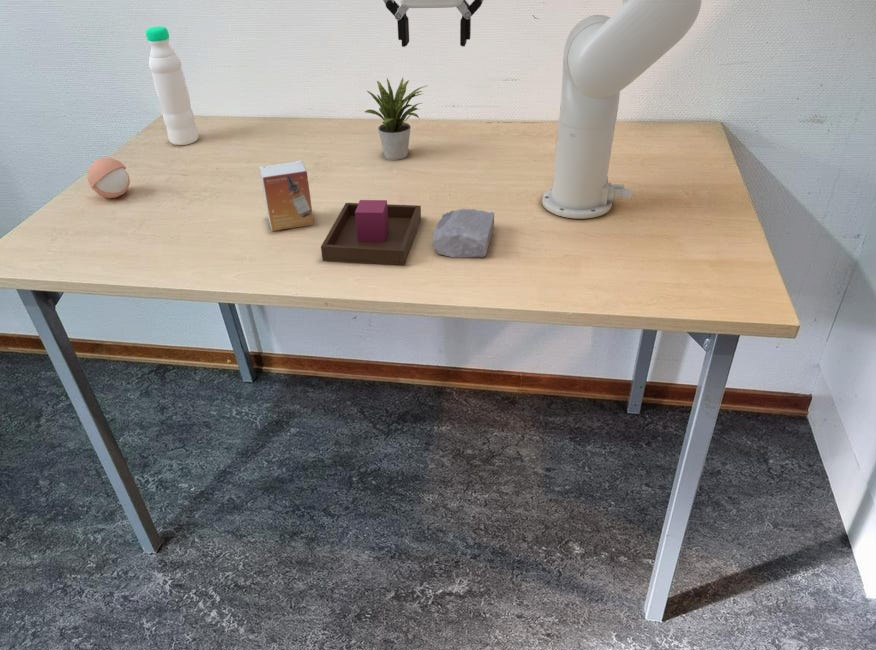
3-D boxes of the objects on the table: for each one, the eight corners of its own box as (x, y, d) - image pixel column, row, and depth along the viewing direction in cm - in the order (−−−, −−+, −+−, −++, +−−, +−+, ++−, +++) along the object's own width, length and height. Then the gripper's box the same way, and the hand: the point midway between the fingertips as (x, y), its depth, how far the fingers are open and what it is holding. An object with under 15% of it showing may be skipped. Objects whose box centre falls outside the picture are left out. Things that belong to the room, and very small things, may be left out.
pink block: (388, 229, 118) (386, 200, 115) (385, 242, 114) (382, 212, 111) (362, 228, 119) (359, 199, 115) (357, 241, 115) (354, 212, 111)
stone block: (432, 265, 112) (491, 258, 109) (426, 239, 109) (486, 232, 106) (444, 234, 121) (498, 227, 118) (438, 210, 118) (493, 202, 115)
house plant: (424, 171, 139) (422, 90, 129) (360, 170, 141) (352, 90, 131) (432, 145, 150) (431, 69, 139) (372, 145, 152) (367, 70, 142)
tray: (421, 219, 122) (420, 205, 120) (404, 265, 109) (403, 250, 107) (347, 216, 124) (345, 202, 122) (322, 261, 112) (320, 246, 110)
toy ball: (111, 207, 133) (97, 169, 128) (87, 199, 136) (73, 162, 131) (142, 192, 138) (131, 155, 133) (118, 185, 141) (106, 148, 136)
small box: (271, 232, 121) (261, 177, 114) (268, 219, 125) (257, 165, 118) (314, 225, 122) (307, 170, 115) (310, 212, 126) (302, 159, 120)
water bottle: (169, 138, 162) (139, 26, 147) (198, 133, 164) (171, 22, 148) (170, 148, 157) (138, 33, 141) (200, 143, 158) (172, 29, 143)
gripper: (370, -75, 97) (378, 50, 107) (488, -79, 94) (485, 50, 104) (380, -81, 102) (387, 39, 113) (492, -85, 99) (489, 38, 110)
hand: (434, 44), depth 109 cm, fingers open, 9 cm apart
